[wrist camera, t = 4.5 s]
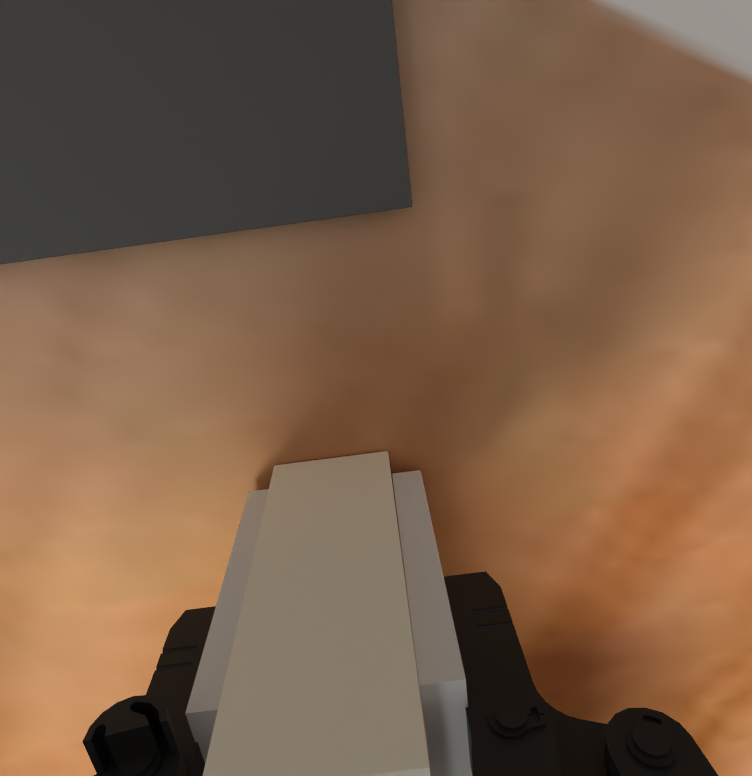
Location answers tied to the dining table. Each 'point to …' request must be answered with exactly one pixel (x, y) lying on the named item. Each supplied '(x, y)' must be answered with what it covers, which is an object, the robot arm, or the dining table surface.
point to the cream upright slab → (324, 635)
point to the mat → (193, 119)
